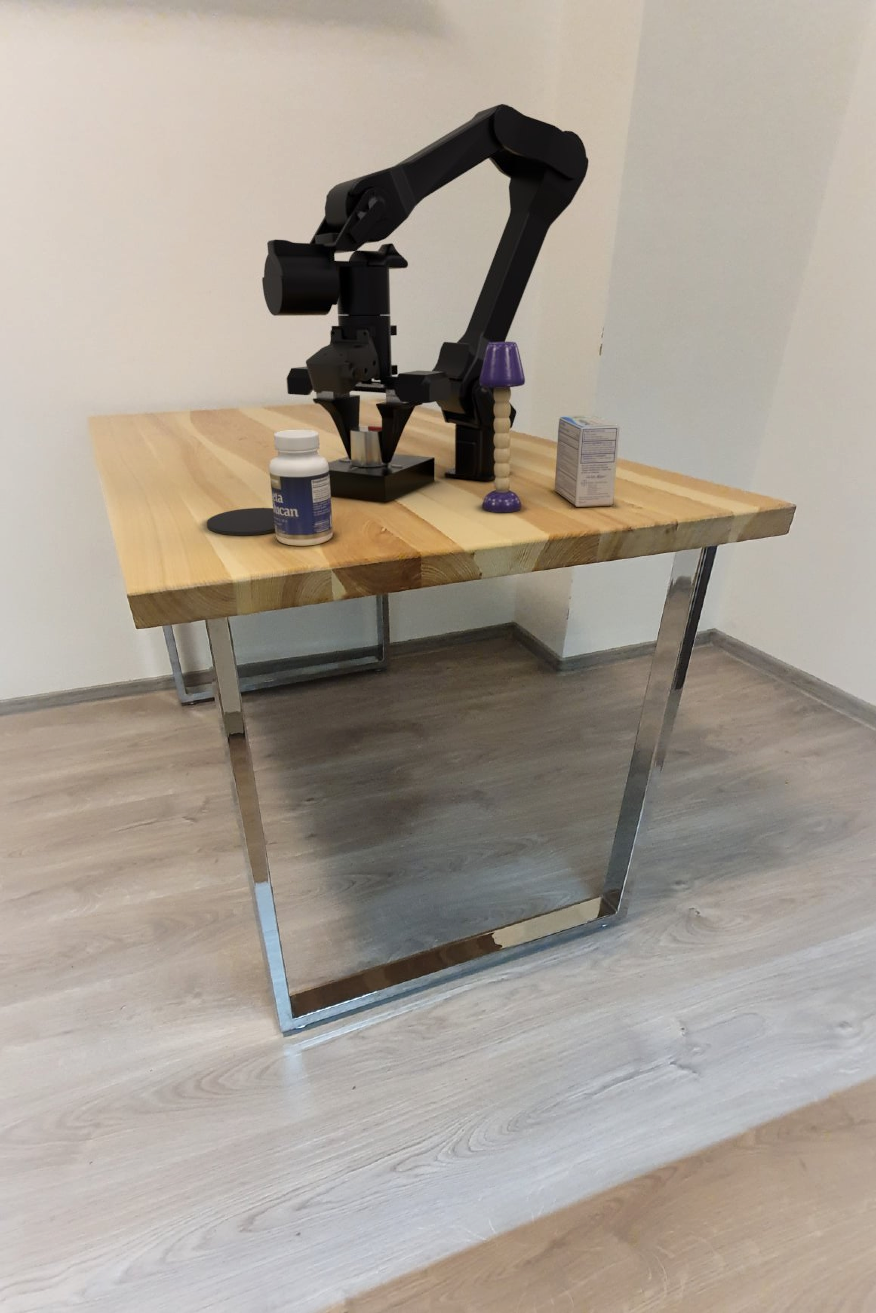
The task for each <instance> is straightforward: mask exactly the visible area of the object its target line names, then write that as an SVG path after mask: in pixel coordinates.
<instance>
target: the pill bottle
mask: <svg viewBox="0 0 876 1313" xmlns="http://www.w3.org/2000/svg"><path fill="white" fill-rule="evenodd" d="M273 443H274V444H273V445H274V450H275V451H276V452H277V456H275V457H273V458H272V459H271V460H270V461H269V464H268V470H269V480H270V490H271V491H270V492H271V501H272V508H273V512H274V522H275V532H274V533H275V537H276V539H277V541H278V542H279V543H282V544H284V545H288V546H289V545H290V546H299V547H300V546H301V547H304V546H315V545H319V544H322V543H326V542H327V541H329V540H330V539H331V538H332V537H333V534H334V528H333V527H334V525H333V510H332V496H331V493H330V477H329V466H328V463H329V462H328V460H327V459H326V457H324V456H322V455H320V454H319V453H318V451H319V450H320V435H319V432H318V431H316V430H311V429H287V430H280V431H276V432H274V433H273Z"/></svg>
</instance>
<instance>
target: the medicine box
mask: <svg viewBox="0 0 876 1313" xmlns="http://www.w3.org/2000/svg"><path fill="white" fill-rule="evenodd" d="M557 428H558V429H557V445H556V463H555V475H554V476H555V477H554V491H555V492H556V493H558V494H559V495H561V496H562V497H563V498H564V499H566V500H567V501H568V502H570V503H571V504H573V506H575V507H578V508H588V507H589V508H590V507H610V506H611V505H613V504H614V495H615V485H616V474H617V473H616V472H617V464H618V452H619V441H620V425H619V424H617V423H614V422H613V421H611V420H608V419H606V418H603V417H599V416H598V415H595V414H594V415H592V414H583V415H582V414H580V415H579V414H577V415H575V414H574V415H566V416H560V417H559V419H558V427H557Z"/></svg>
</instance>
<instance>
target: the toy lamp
mask: <svg viewBox="0 0 876 1313" xmlns="http://www.w3.org/2000/svg"><path fill="white" fill-rule="evenodd" d="M525 383H526V379H525V372H524V368H523V364H522V359H521V354H520V350H519V347H518V344H517V342H515V341H505V342H491V343H489V344H488V345H487V348H486V352H485V356H484V361H483V365H482V370H481V374H480V380H479V384H480V386H482V387H487V388H494V399H495V404H494V415H495V419H494V430H495V435H494V445H495V447H496V448H495V450H494V460H495V462H496V463H495V465H494V473H495V476H496V478H495V479H493V486H494V490H492V491H490V492H489V493H487V494H486V496H485V497H484V498H483V501H482V504H481V505H482V506H481V508H482V510H485V511H488V512H491V513H513V512H517V511H519V510H521V508H522V502H521V499H520V497H519V496H518V494H517V493H515V492H514V491H513V490H510V489H511V478H510V475H511V465H510V460H511V450H510V446H511V439H512V438H511V434H510V430H511V428H510V426H511V423H510V419H509V415H510V412H511V406H510V404H511V402H510V400H511V397H512V390H511V388H517V387H521V386H524V385H525ZM509 402H510V403H509Z"/></svg>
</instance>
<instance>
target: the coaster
mask: <svg viewBox="0 0 876 1313" xmlns="http://www.w3.org/2000/svg"><path fill="white" fill-rule="evenodd" d="M206 527H207V529H208V530H209V531H211V532H214V533H216V534H221V535H225V536H240V537H241V536H243V537H245V536H260V535H268V534H274V533H276V532H275V522H274V512H273V507H251V508H250V507H249V508H240V509H234V510H233V509H232V510H228V511H223V512H221V513H218V514H215V515H213V516H211V517H210V518H208V519H207V521H206Z"/></svg>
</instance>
